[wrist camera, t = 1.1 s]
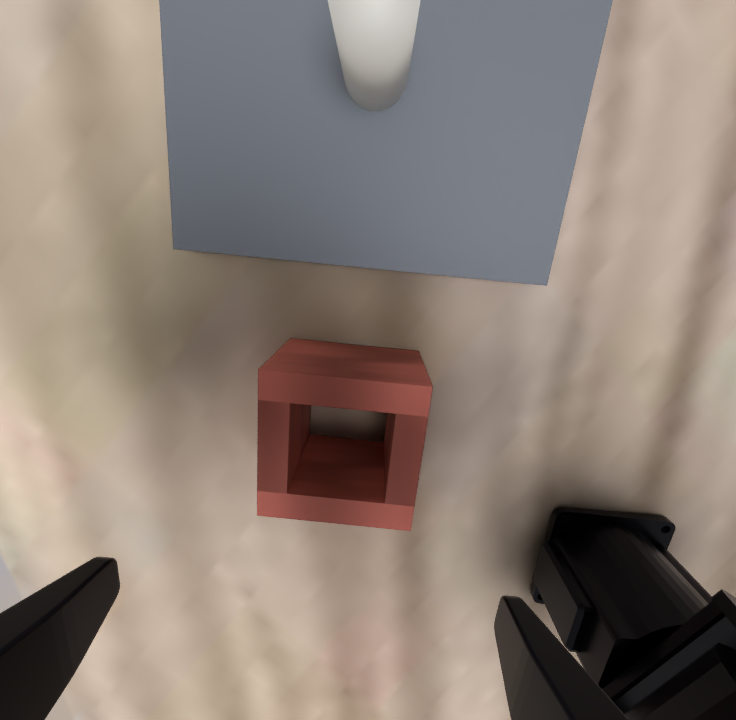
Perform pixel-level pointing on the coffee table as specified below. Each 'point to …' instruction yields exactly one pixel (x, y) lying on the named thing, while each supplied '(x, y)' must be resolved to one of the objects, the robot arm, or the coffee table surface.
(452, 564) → the coffee table surface
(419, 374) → the red square tube
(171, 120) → the flat gray board
